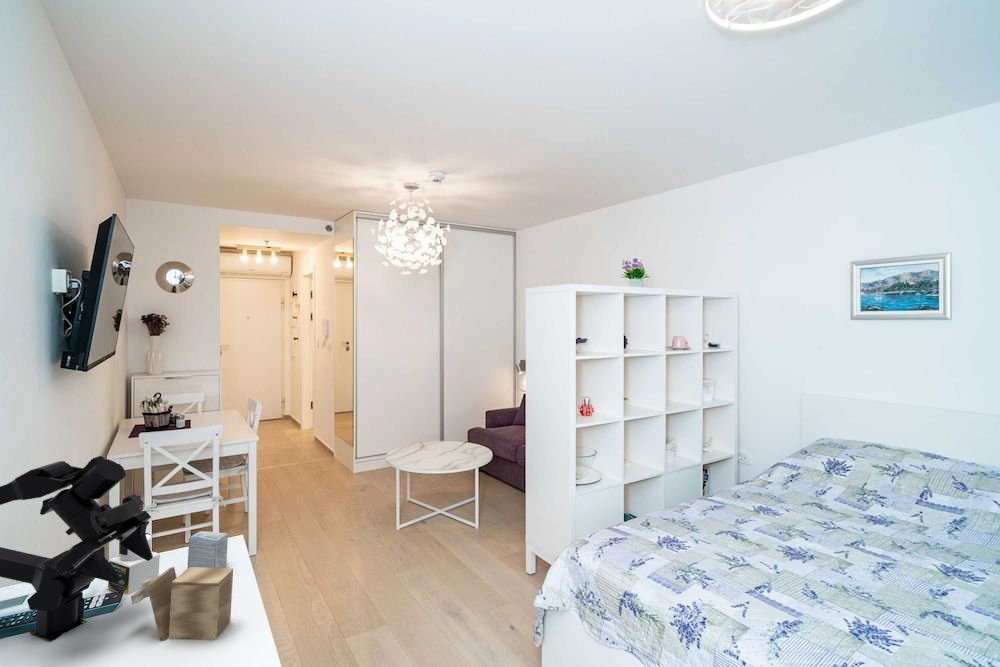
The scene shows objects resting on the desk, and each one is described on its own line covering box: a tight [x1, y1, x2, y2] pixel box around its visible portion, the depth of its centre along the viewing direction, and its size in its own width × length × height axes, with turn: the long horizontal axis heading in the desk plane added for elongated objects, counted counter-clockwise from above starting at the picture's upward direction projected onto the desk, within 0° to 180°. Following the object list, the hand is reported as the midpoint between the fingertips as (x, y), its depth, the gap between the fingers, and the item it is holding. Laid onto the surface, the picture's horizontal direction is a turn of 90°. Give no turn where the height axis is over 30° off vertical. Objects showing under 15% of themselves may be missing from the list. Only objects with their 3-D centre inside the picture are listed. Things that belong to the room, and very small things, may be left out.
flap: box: [130, 566, 178, 641], centre depth 99 cm, size 5×7×11 cm
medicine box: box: [186, 530, 229, 570], centre depth 125 cm, size 8×4×9 cm, turn 84°
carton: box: [168, 567, 234, 641], centre depth 99 cm, size 9×6×12 cm, turn 93°
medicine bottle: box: [107, 532, 161, 595], centre depth 115 cm, size 7×7×12 cm
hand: (135, 569), depth 99 cm, fingers open, 9 cm apart
